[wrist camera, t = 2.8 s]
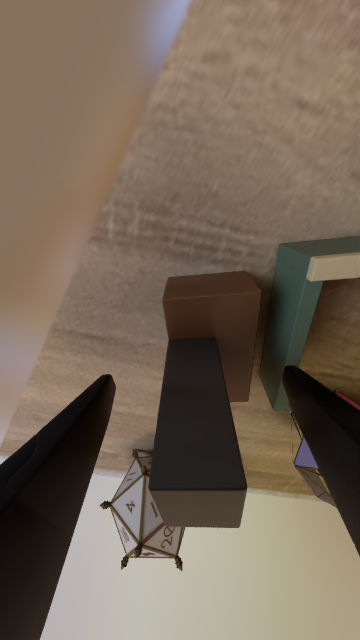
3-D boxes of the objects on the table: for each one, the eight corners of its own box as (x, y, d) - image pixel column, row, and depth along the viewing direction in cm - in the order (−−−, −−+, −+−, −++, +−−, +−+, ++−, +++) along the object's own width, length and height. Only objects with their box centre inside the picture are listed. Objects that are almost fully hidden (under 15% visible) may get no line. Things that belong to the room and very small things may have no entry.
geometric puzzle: (338, 378, 12) (363, 555, 9) (435, 397, 12) (490, 570, 10) (270, 384, 19) (272, 486, 16) (336, 396, 19) (350, 497, 16)
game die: (153, 415, 24) (118, 466, 15) (213, 455, 23) (219, 541, 13) (117, 478, 24) (58, 574, 14) (176, 522, 23) (154, 661, 13)
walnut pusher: (238, 367, 15) (293, 548, 7) (180, 370, 15) (172, 545, 7) (245, 270, 11) (384, 434, 3) (167, 277, 11) (123, 440, 4)
